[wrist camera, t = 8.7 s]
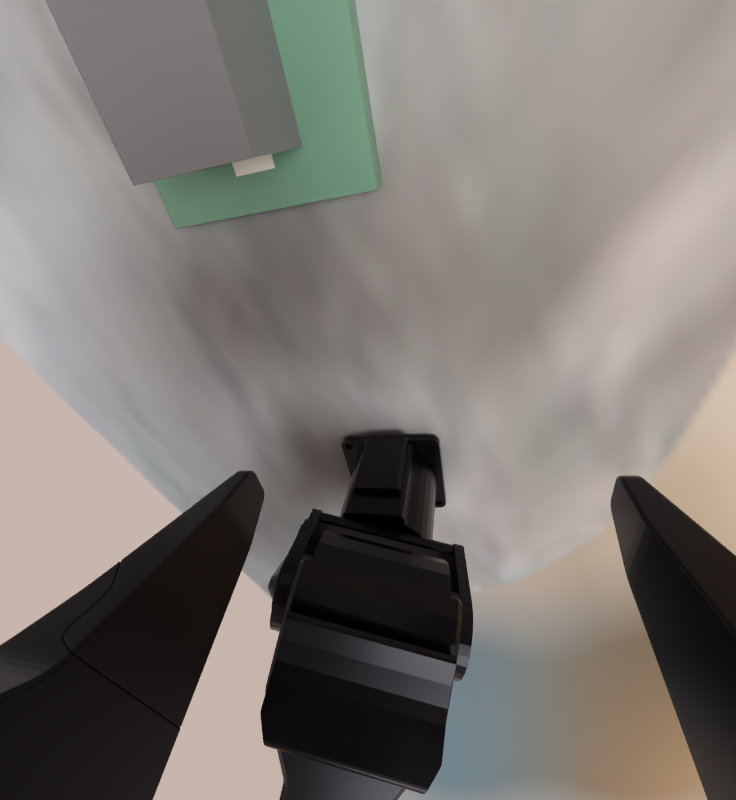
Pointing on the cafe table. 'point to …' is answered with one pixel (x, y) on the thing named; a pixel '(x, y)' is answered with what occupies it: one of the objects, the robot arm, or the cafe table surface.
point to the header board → (316, 120)
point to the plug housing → (181, 80)
